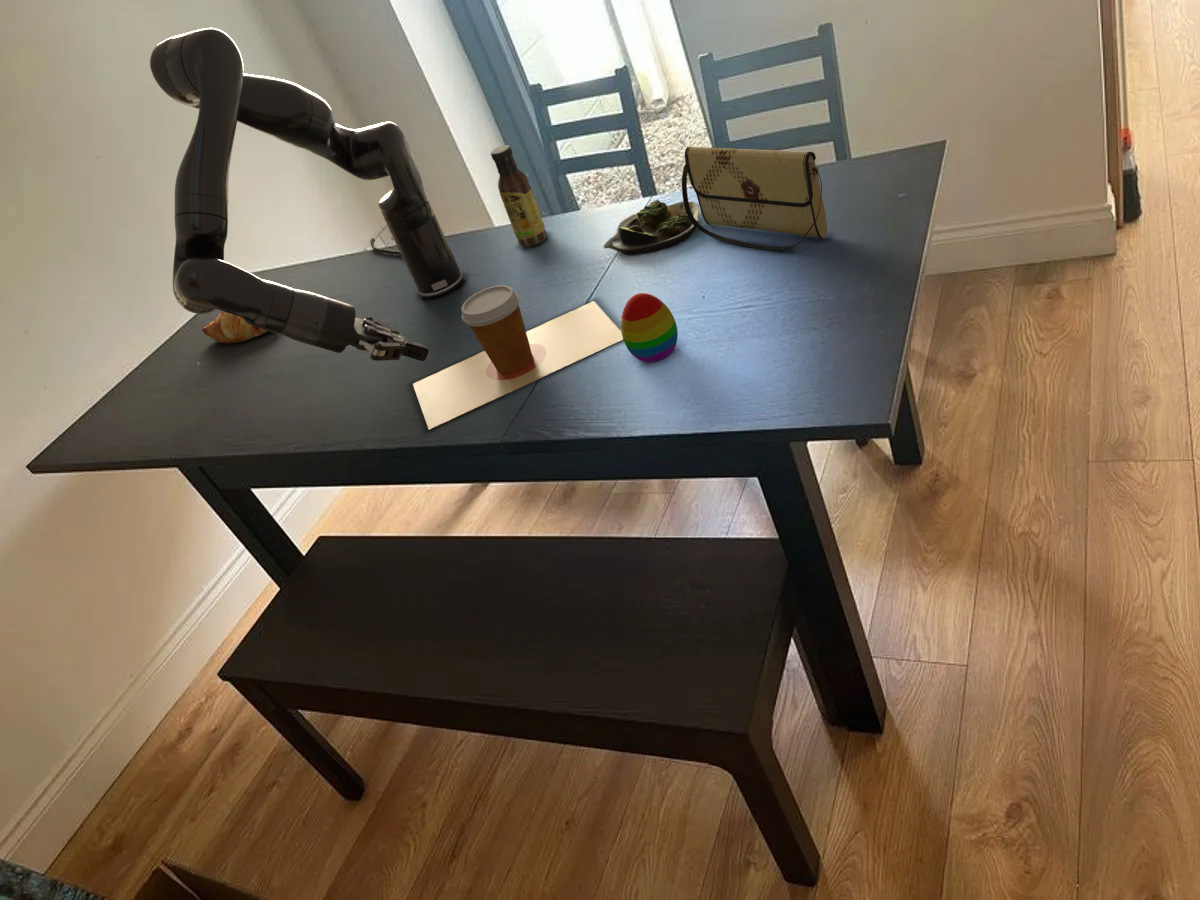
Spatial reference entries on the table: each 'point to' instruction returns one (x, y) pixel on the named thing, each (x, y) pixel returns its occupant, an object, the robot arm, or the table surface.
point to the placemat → (550, 351)
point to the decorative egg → (648, 328)
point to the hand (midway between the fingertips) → (426, 353)
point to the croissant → (231, 329)
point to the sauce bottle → (518, 199)
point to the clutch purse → (756, 192)
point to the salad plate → (654, 228)
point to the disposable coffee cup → (499, 327)
